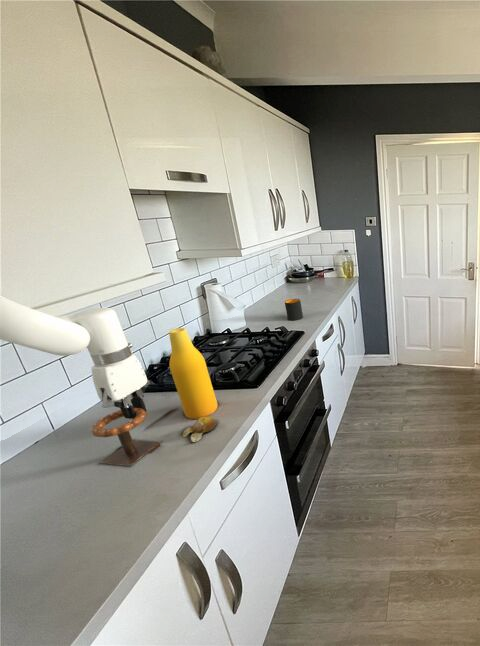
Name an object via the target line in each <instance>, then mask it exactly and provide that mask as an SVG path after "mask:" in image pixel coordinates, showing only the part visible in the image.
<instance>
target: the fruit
mask: <svg viewBox="0 0 480 646" xmlns="http://www.w3.org/2000/svg"><path fill="white" fill-rule="evenodd" d="M216 428H217V422H216V420H215V419H214V418H213V417H211V416H206V417H202V418H199V419H196V421H195V422H194V424H193V426H192V427H190V426H189V427H187V428H185V430H183V433H182V438H186V437H188V435H189V434H191V433H192V434H191V435H190V441H189V442H190V443H196V442H199V441H201V440H202V439H203V434H204V433H210V432H212V431H214V430H216Z"/></svg>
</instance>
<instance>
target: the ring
mask: <svg viewBox="0 0 480 646" xmlns="http://www.w3.org/2000/svg"><path fill="white" fill-rule="evenodd" d="M134 411H135V413H136V417H135V418H134V419H130V420H129V421H128V422H126V423H124V424H121V425H119V426H116V427H115V426H114V427H111V428H104V427H106V425H108V424H111V422H113V421H116V420H118V419H120V418H125V417H124V416H123V414H122V411H121V409H119V410H116V411H114V412H111V413H108V414H106V415H105V416H103V417H101V418H100V419H98V420H96V422H94V424H93V426H92V427H91V429H90V431H91V433H92V434H93V436H94V437H96V438H110V437H114V436H117V435H119V434H122V433H124V432H127V431H129V432H130V431H132V430H133V429H134V428H136V427H138V426H140V424H142V423H143V422H144V420H145V419H146V417H147V415H148V414H147V411H146V412H145V411H144V409H142V408H134Z"/></svg>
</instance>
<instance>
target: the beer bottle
mask: <svg viewBox="0 0 480 646" xmlns="http://www.w3.org/2000/svg"><path fill="white" fill-rule="evenodd" d="M168 336H169V342H170V347H171V354H170V358H169V370H170V373H171V376H172V379H173V382H174V386H175V388H176V391H177V394H178V397H179V400H180V404H181V406H182V410H183V413H184V416H185V417H186V418H187V419H189V420H198V419H199V418H202V417H209V416H210V415H212V414H213V413H215V412H216V410H217V409H218V401H217V398H216V395H215V391H214V387H213V384H212V380H211V377H210V374H209V371H208V367H207V363H206V360H205V358H204V356H203V354H202V352H200V351H199V350H198V349H197V348H196V347H195V346H194V344H193V342H192V340H191V338H190V335H189V333H188V331H187V329H186V328H185V327H177V328H173V329H171V330H169V331H168Z"/></svg>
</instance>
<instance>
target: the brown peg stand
mask: <svg viewBox="0 0 480 646" xmlns="http://www.w3.org/2000/svg"><path fill="white" fill-rule="evenodd" d="M116 436H117V438H118V440H119V443H120V446H121V448H119V449H118V450H117V451H115V452H114V453H112V454H111V455H109V456H108V457H107V458H105V459H104V460H103V461H101V462H100V464H101V465H109V466H111V465H113V466H121V467H123V466H124V467H132V466H133V465H134V464H135V463H136V462H138V461H139V460H141V459H142V458H143V457H144V456H145V455H147V454H153V453H154V452H155V451H156V450H158V449H159V448H160V447H161V444H160V442H159V441H158V442H156V441H148V440H147V441H146V440H134V439H133V438H132V435H131V432H130V430H129V431H127V432H124V433H122V434H119V435H116Z"/></svg>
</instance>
